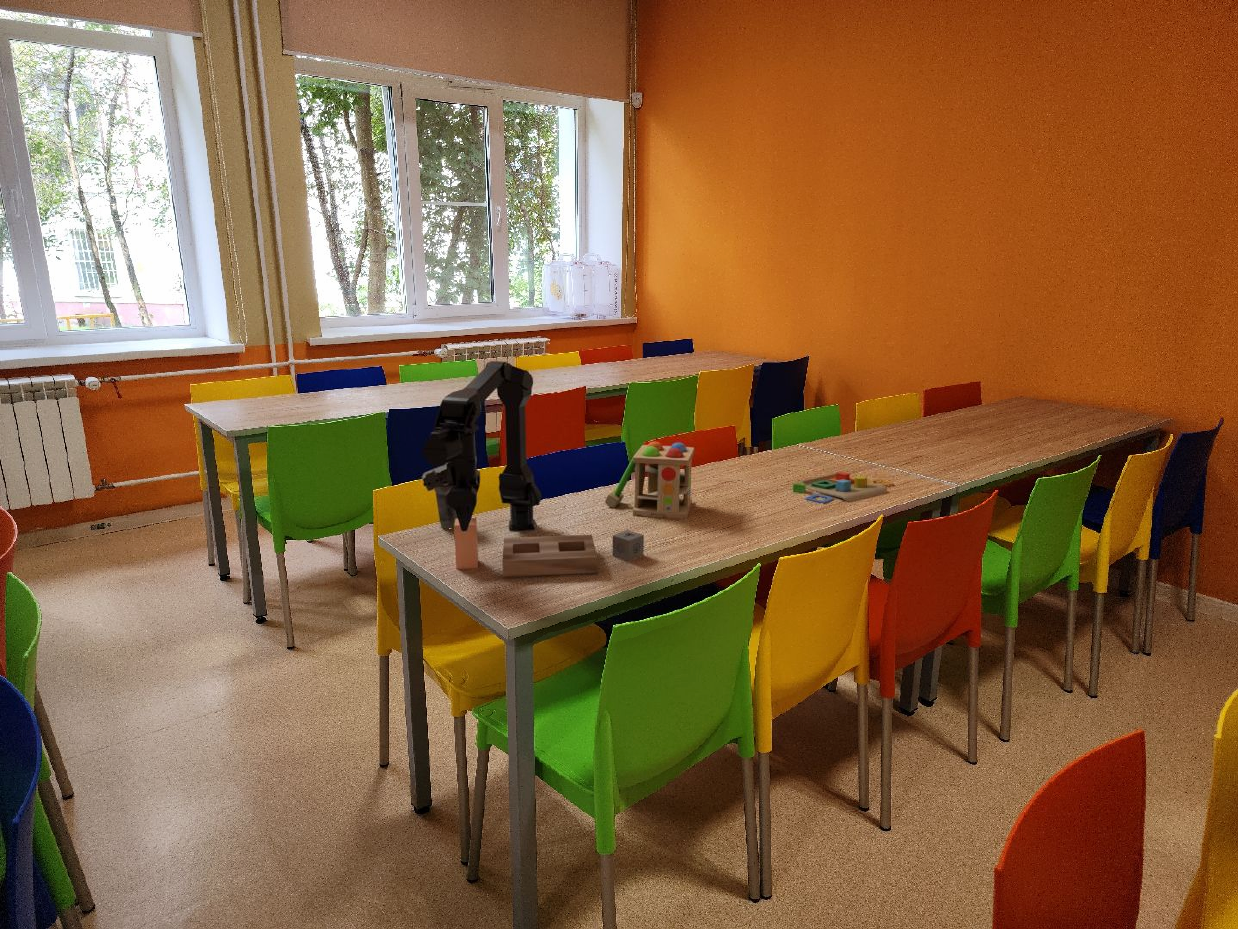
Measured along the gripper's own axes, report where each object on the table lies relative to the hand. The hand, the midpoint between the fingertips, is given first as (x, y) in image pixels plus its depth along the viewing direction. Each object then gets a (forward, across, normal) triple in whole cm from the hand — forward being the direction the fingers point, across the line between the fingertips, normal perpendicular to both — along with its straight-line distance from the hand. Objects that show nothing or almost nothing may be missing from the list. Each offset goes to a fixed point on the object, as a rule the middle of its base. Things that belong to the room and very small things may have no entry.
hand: (465, 523), depth 173 cm
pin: (+10, 0, 0) cm, 10 cm away
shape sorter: (+11, -46, +105) cm, 115 cm away
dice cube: (+10, -1, +36) cm, 37 cm away
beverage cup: (+10, -26, -6) cm, 28 cm away
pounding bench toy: (+10, -35, +46) cm, 58 cm away
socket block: (+9, +2, +18) cm, 20 cm away
